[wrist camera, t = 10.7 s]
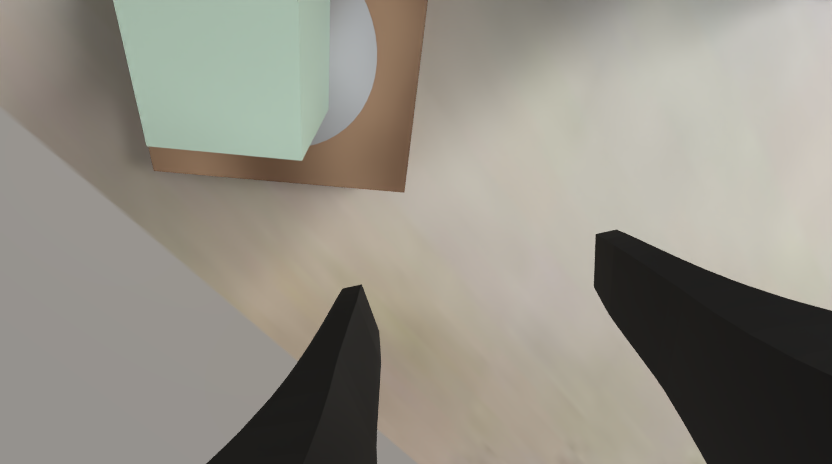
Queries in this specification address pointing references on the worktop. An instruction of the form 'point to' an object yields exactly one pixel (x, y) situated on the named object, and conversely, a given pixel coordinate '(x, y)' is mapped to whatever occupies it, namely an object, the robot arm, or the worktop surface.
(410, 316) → the worktop surface
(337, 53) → the walnut base
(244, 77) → the sage block
